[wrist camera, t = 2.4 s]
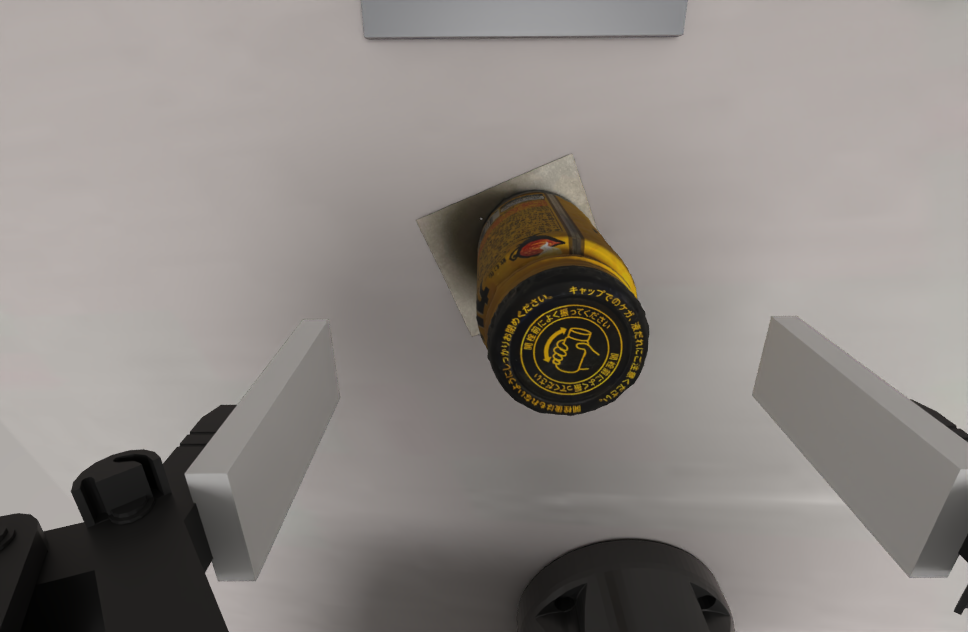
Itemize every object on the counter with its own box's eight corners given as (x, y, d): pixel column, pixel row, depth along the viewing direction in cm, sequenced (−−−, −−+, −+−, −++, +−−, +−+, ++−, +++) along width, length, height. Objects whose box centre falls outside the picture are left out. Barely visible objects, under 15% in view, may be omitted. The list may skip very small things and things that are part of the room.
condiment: (614, 281, 28) (700, 403, 17) (471, 335, 29) (465, 481, 18) (571, 152, 25) (639, 198, 14) (416, 218, 27) (369, 307, 16)
